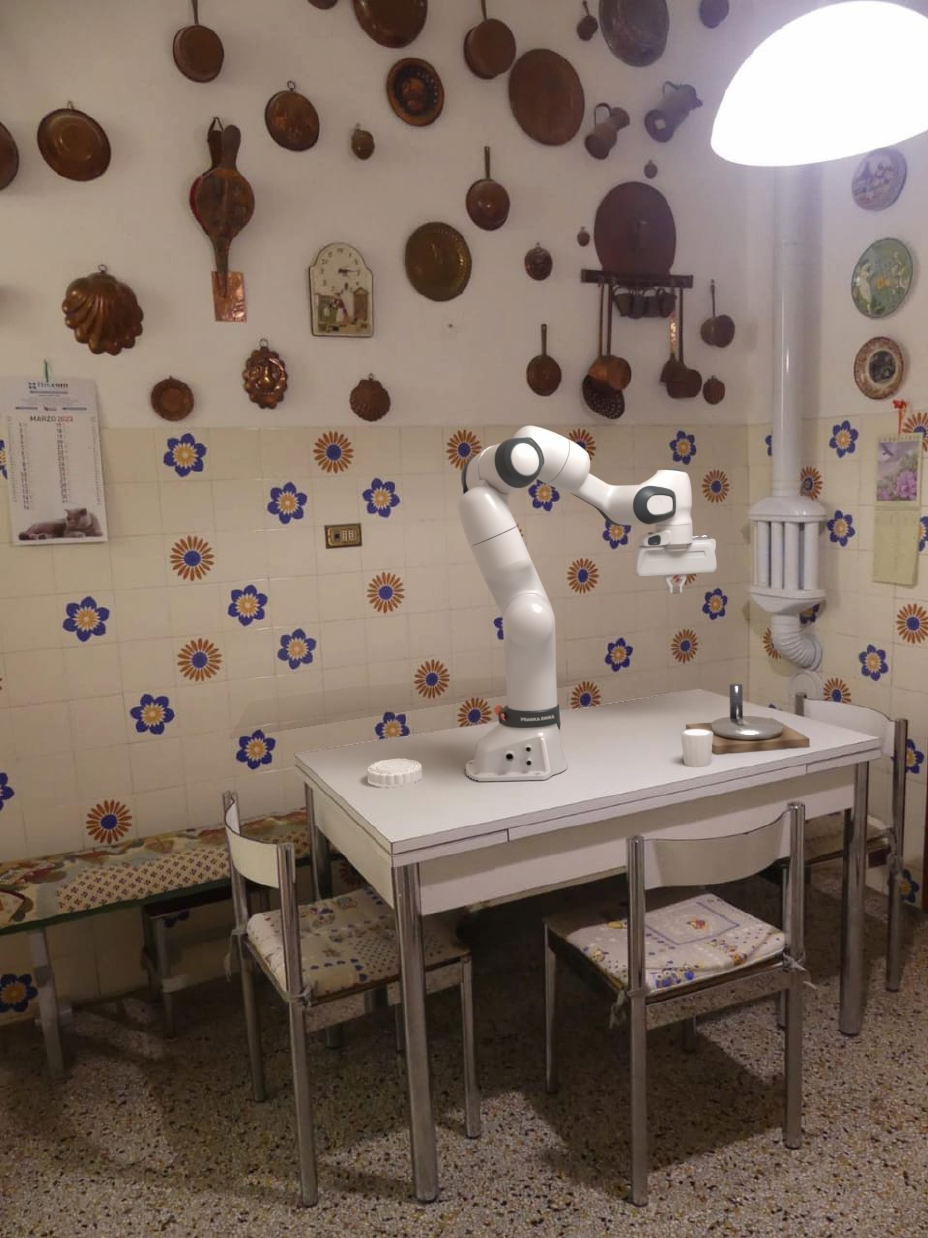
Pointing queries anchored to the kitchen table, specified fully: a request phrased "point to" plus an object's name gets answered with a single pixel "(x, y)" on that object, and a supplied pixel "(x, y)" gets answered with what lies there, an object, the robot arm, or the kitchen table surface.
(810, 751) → the kitchen table surface
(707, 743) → the white fluted cup
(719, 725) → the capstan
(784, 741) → the dial board
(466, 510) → the robot arm
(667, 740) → the kitchen table surface
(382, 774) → the mooncake
